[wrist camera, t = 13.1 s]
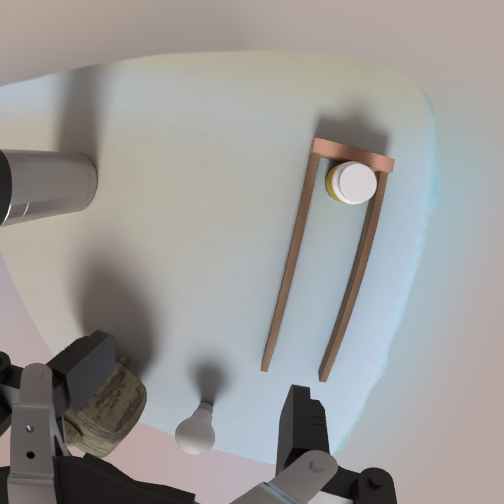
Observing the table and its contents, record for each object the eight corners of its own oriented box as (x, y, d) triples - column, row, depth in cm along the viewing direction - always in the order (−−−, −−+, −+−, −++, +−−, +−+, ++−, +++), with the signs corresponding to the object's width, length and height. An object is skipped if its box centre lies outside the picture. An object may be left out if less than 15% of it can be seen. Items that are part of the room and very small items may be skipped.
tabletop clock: (85, 353, 47) (2, 430, 23) (100, 323, 45) (2, 405, 21) (145, 401, 48) (83, 499, 23) (166, 376, 45) (98, 488, 21)
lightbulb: (219, 391, 45) (203, 438, 34) (227, 417, 46) (214, 462, 35) (185, 391, 46) (164, 435, 35) (195, 416, 47) (177, 459, 36)
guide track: (261, 361, 43) (259, 376, 39) (312, 142, 35) (315, 137, 31) (324, 372, 42) (326, 388, 38) (384, 161, 35) (394, 159, 31)
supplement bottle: (333, 207, 37) (346, 213, 29) (318, 173, 36) (327, 170, 28) (366, 192, 36) (387, 195, 28) (351, 159, 35) (368, 152, 27)
